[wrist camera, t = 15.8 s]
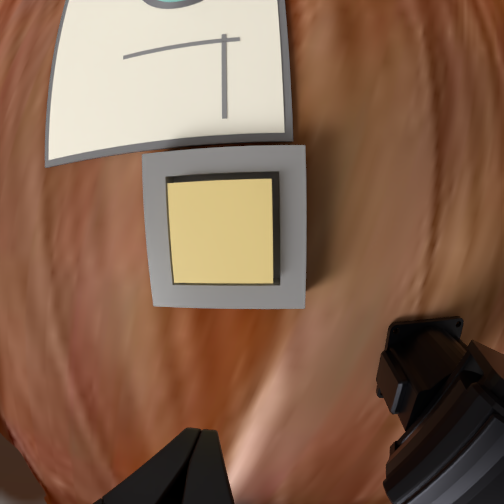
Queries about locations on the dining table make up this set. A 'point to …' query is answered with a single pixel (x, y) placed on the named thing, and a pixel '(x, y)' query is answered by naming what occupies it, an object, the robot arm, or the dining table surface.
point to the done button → (221, 231)
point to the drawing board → (167, 77)
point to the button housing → (284, 224)
